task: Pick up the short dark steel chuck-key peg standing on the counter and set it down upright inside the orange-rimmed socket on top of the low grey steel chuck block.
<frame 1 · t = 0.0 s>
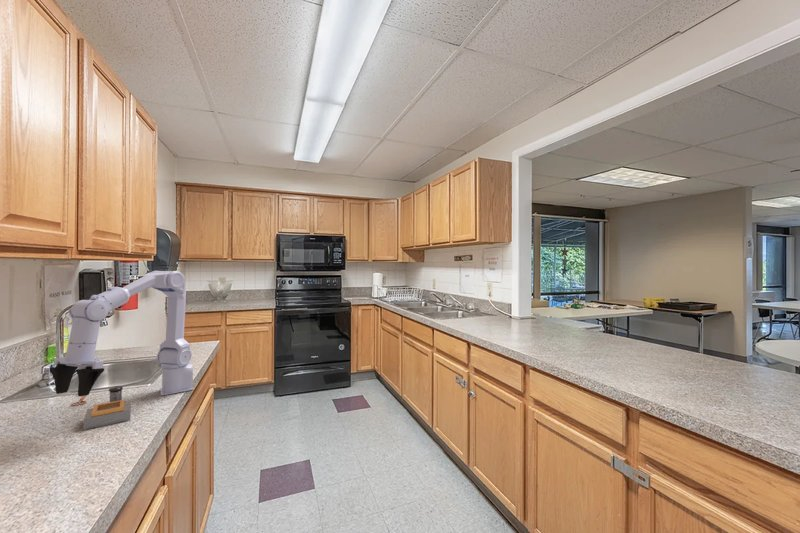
hand: (72, 394, 89), 11 cm above the countertop, tool pointing down, fingers open, 7 cm apart
chuck block: (108, 419, 97), on the countertop
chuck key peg: (115, 405, 107), on the countertop
key: (79, 400, 112), on the countertop
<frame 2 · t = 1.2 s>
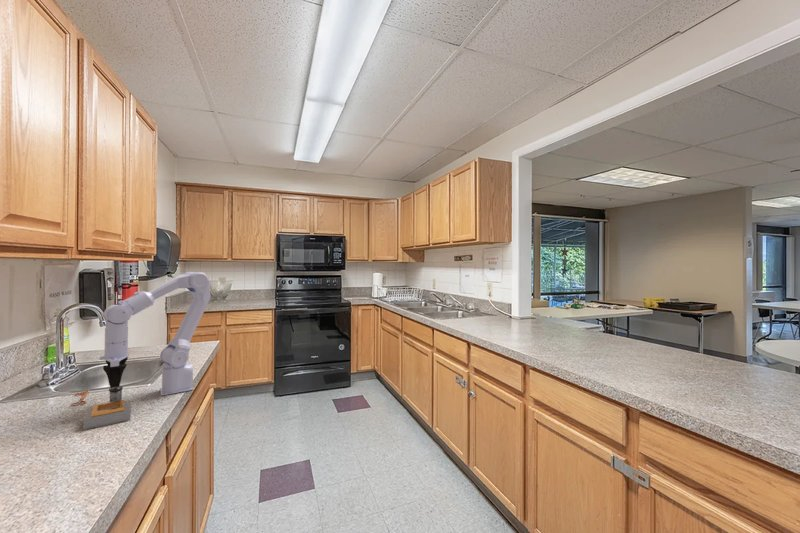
hand: (115, 383, 107), 7 cm above the countertop, tool pointing down, fingers open, 7 cm apart
nothing on the countertop moved.
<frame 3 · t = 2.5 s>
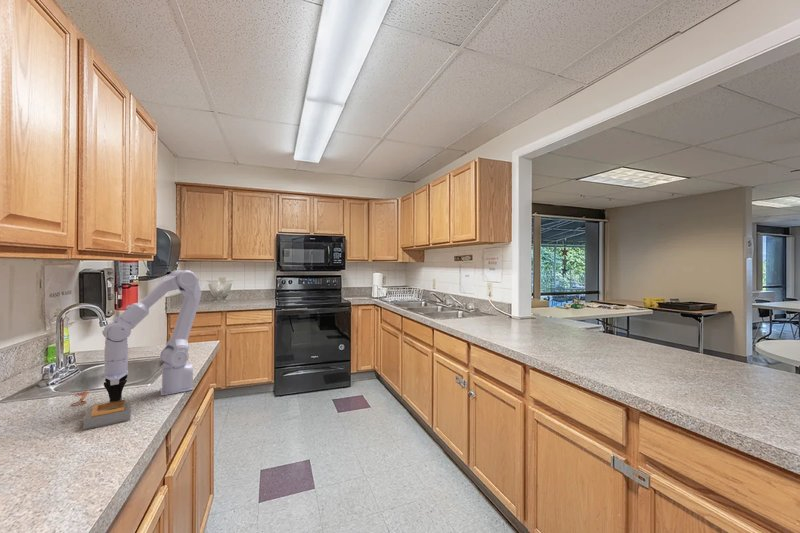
hand: (115, 400, 107), 1 cm above the countertop, tool pointing down, fingers closed on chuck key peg, 3 cm apart
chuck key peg: (115, 405, 107), on the countertop, touching gripper
everything else where it was.
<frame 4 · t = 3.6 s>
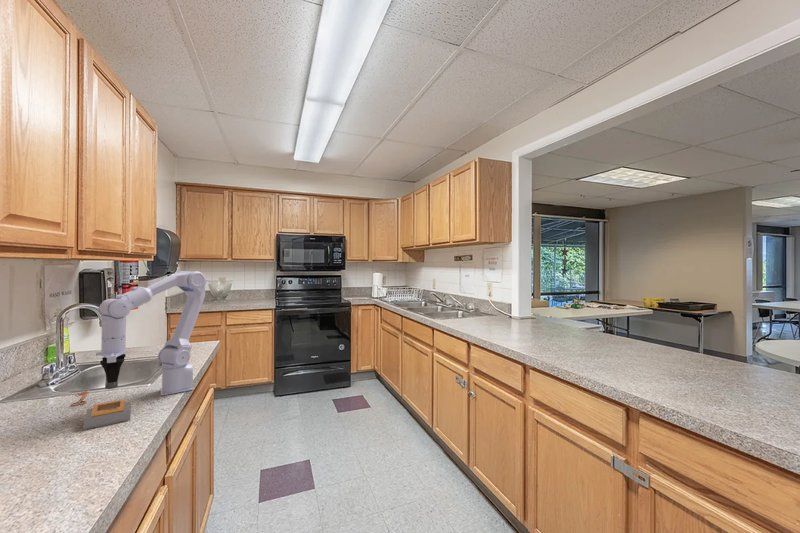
hand: (113, 380, 103), 9 cm above the countertop, tool pointing down, fingers closed on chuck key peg, 3 cm apart
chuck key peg: (111, 387, 103), point 7 cm above the countertop, touching gripper
everything else where it was.
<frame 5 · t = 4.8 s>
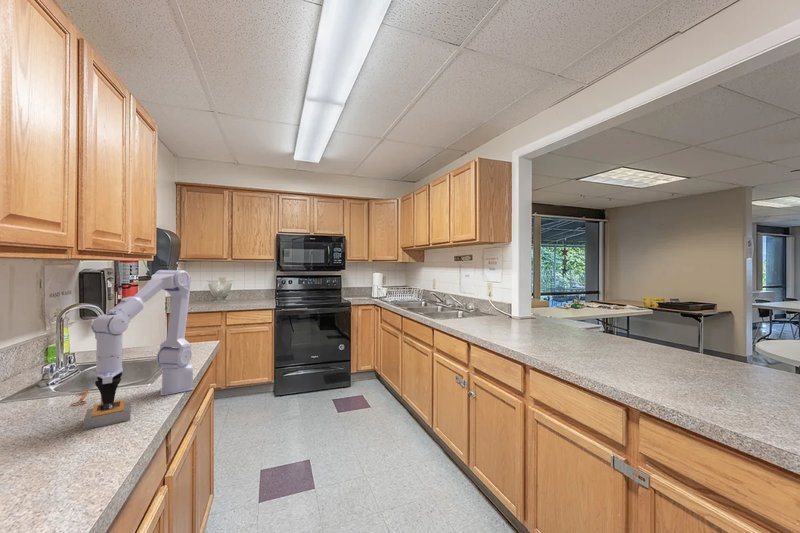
hand: (108, 401, 97), 5 cm above the countertop, tool pointing down, fingers closed on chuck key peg, 3 cm apart
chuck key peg: (107, 409, 97), point 3 cm above the countertop, touching chuck block, gripper
everything else where it was.
when the fingers open (5 cm above the countertop, at t = 5.1 s): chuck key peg stays where it is, resting on chuck block.
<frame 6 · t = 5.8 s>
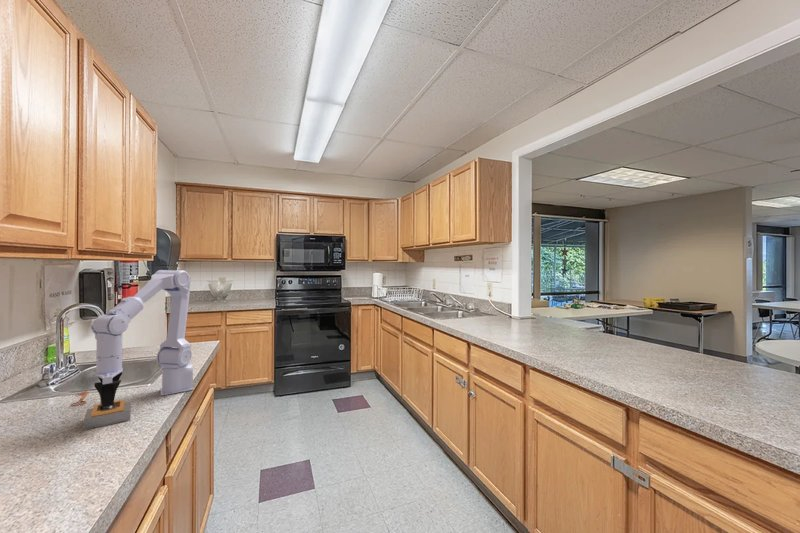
hand: (108, 401, 97), 5 cm above the countertop, tool pointing down, fingers open, 7 cm apart
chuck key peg: (107, 409, 97), point 3 cm above the countertop, touching chuck block
everything else where it was.
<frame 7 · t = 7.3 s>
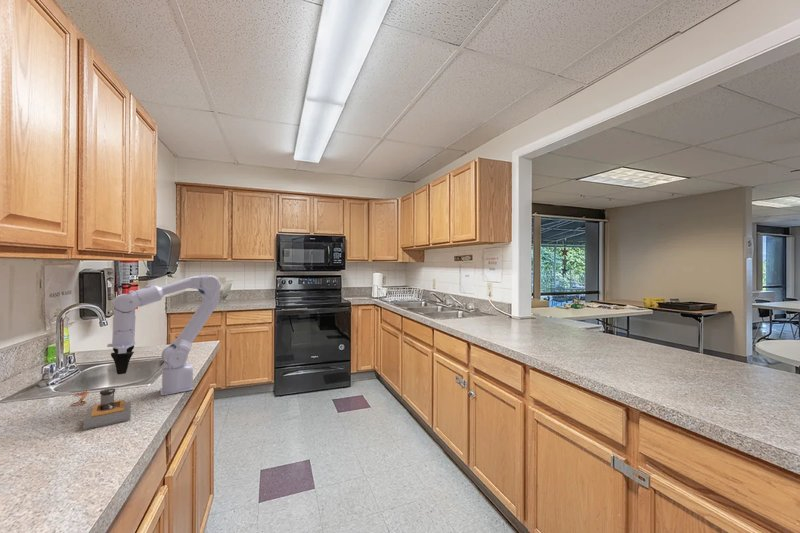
hand: (122, 370, 109), 10 cm above the countertop, tool pointing down, fingers open, 7 cm apart
nothing on the countertop moved.
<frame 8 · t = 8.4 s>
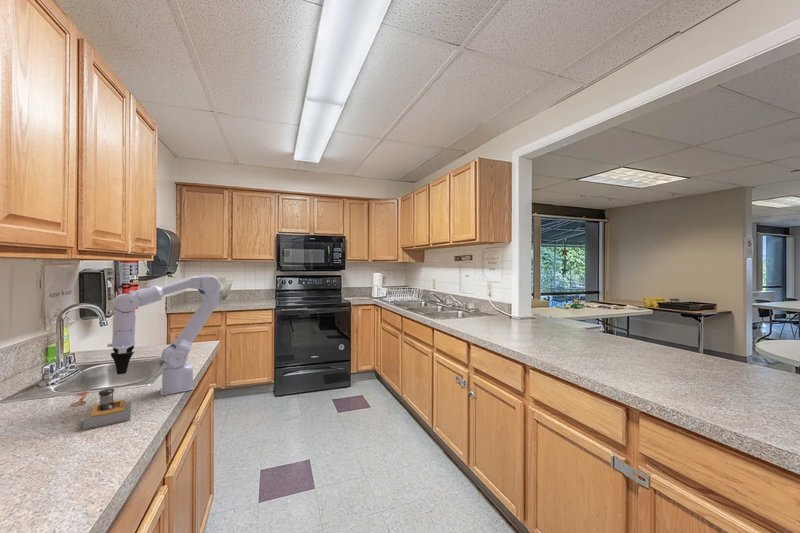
hand: (122, 370, 109), 10 cm above the countertop, tool pointing down, fingers open, 7 cm apart
nothing on the countertop moved.
at the end: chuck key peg 0.4 cm off-centre on the chuck block, point 3.1 cm above the chuck block's base; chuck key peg tilted 2°; the gripper is holding nothing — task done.
